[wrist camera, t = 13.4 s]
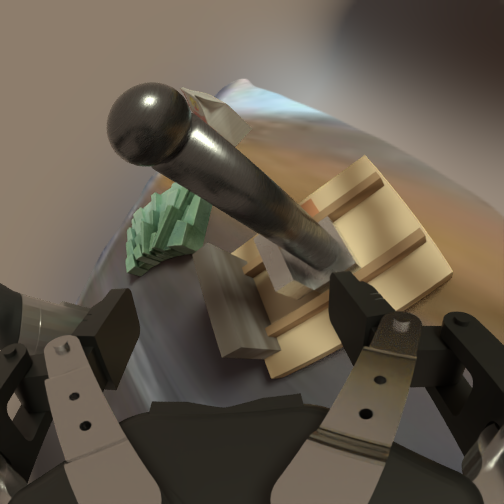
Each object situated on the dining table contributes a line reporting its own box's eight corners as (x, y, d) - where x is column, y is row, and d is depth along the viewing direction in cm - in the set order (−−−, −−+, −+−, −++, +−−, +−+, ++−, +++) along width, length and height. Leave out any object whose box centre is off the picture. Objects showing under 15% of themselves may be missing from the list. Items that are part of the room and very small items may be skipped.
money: (145, 300, 44) (119, 293, 40) (136, 222, 53) (114, 212, 49) (244, 223, 37) (218, 207, 33) (214, 148, 45) (193, 131, 42)
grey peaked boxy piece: (231, 115, 45) (189, 77, 38) (252, 128, 41) (206, 85, 33) (216, 132, 46) (172, 96, 38) (235, 147, 42) (187, 107, 34)
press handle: (335, 224, 27) (148, 50, 10) (362, 269, 24) (154, 86, 8) (286, 258, 29) (75, 136, 12) (307, 304, 26) (61, 202, 10)
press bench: (370, 165, 29) (343, 115, 22) (452, 277, 21) (455, 246, 15) (238, 261, 35) (187, 238, 29) (282, 377, 27) (229, 381, 21)
